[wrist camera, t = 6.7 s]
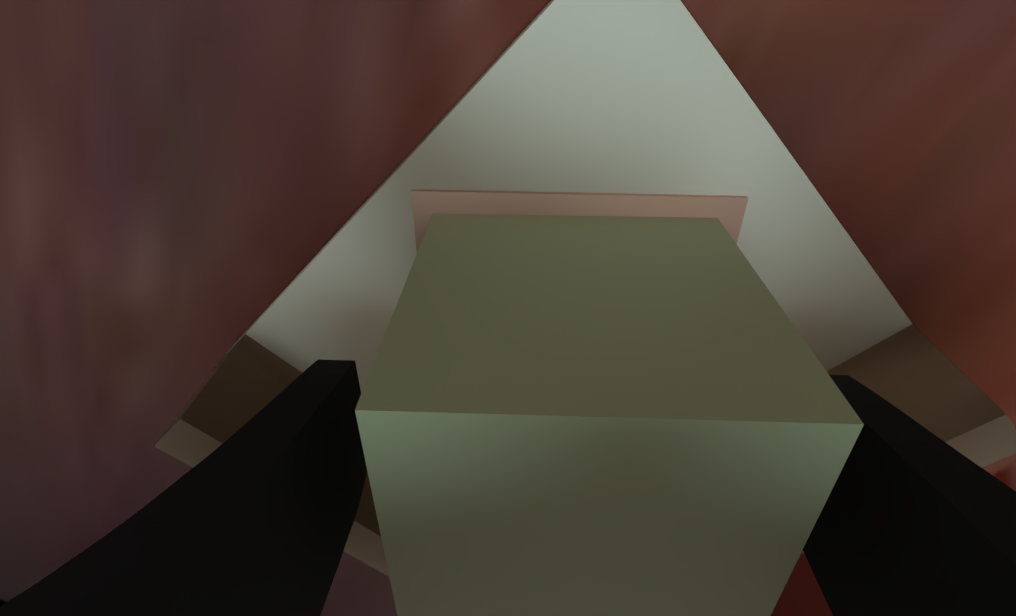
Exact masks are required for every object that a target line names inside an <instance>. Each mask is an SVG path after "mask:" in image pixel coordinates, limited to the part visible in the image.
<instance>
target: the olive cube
mask: <svg viewBox="0 0 1016 616" xmlns="http://www.w3.org/2000/svg"><path fill="white" fill-rule="evenodd" d="M355 414H356V418H357V423H358V428H359V433H360V438H361V443H362V447H363V452H364V457H365V462H366V467H367V471H368V476H369V481H370V486H371V491H372V496H373V500H374V505H375V510H376V515H377V520H378V524H379V529H380V534H381V539H382V544H383V549H384V553H385V558H386V563H387V568H388V573H389V577H390V582H391V587H392V592H393V597H394V602H395V606H396V611H397V616H770V615H771V613H772V611H773V609H774V607H775V605H776V603H777V601H778V599H779V597H780V595H781V593H782V591H783V589H784V587H785V585H786V583H787V580H788V578H789V576H790V574H791V572H792V570H793V568H794V566H795V564H796V562H797V560H798V558H799V556H800V554H801V552H802V550H803V548H804V546H805V544H806V542H807V540H808V538H809V536H810V534H811V532H812V530H813V527H814V525H815V523H816V521H817V519H818V517H819V515H820V513H821V511H822V509H823V507H824V505H825V503H826V501H827V499H828V497H829V495H830V493H831V491H832V489H833V487H834V485H835V483H836V481H837V479H838V477H839V475H840V472H841V470H842V468H843V466H844V464H845V462H846V460H847V458H848V456H849V454H850V452H851V450H852V448H853V446H854V444H855V442H856V440H857V438H858V436H859V434H860V432H861V430H862V428H863V426H864V424H863V422H862V421H861V419H860V418H859V417H858V415H857V414H856V412H855V411H854V410H853V408H852V407H851V405H850V404H849V403H848V401H847V400H846V398H845V397H844V395H843V394H842V393H841V391H840V390H839V388H838V387H837V386H836V384H835V383H834V381H833V380H832V379H831V377H830V376H829V374H828V373H827V371H826V370H825V369H824V367H823V366H822V364H821V363H820V362H819V360H818V359H817V357H816V356H815V355H814V353H813V352H812V350H811V349H810V348H809V346H808V345H807V343H806V342H805V340H804V339H803V338H802V336H801V335H800V333H799V332H798V331H797V329H796V328H795V326H794V325H793V324H792V322H791V321H790V319H789V318H788V317H787V315H786V314H785V312H784V311H783V309H782V308H781V307H780V305H779V304H778V302H777V301H776V300H775V298H774V297H773V295H772V294H771V293H770V291H769V290H768V288H767V287H766V286H765V284H764V283H763V281H762V280H761V278H760V277H759V276H758V274H757V273H756V271H755V270H754V269H753V267H752V266H751V264H750V263H749V262H748V260H747V259H746V257H745V256H744V255H743V253H742V252H741V250H740V249H739V247H738V246H737V245H736V243H735V242H734V240H733V239H732V238H731V236H730V235H729V233H728V232H727V231H726V229H725V228H724V226H723V225H722V224H721V222H720V221H719V219H718V218H692V217H628V216H564V215H500V214H436V213H433V214H432V217H431V219H430V222H429V224H428V227H427V229H426V232H425V234H424V237H423V239H422V242H421V244H420V247H419V250H418V252H417V255H416V257H415V260H414V262H413V265H412V267H411V270H410V272H409V275H408V277H407V280H406V282H405V285H404V287H403V290H402V292H401V295H400V297H399V300H398V302H397V305H396V308H395V310H394V313H393V315H392V318H391V320H390V323H389V325H388V328H387V330H386V333H385V335H384V338H383V340H382V343H381V345H380V348H379V350H378V353H377V355H376V358H375V360H374V363H373V365H372V368H371V371H370V373H369V376H368V378H367V381H366V383H365V386H364V388H363V391H362V393H361V396H360V398H359V401H358V403H357V406H356V408H355Z"/></svg>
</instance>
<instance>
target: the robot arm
mask: <svg viewBox="0 0 1016 616" xmlns="http://www.w3.org/2000/svg"><path fill="white" fill-rule="evenodd" d="M829 376H830V377H831V379H832V380H833V381H834V383H835V384H836V386H837V387H838V388H839V390H840V391H841V393H842V394H843V395H844V397H845V398H846V400H847V401H848V403H849V404H850V405H851V407H852V408H853V410H854V411H855V412H856V414H857V415H858V417H859V418H860V419H861V421H862V422H863V424H864V426H863V428H862V430H861V432H860V434H859V436H858V438H857V440H856V442H855V444H854V446H853V448H852V450H851V452H850V454H849V456H848V458H847V460H846V462H845V464H844V466H843V468H842V470H841V472H840V475H839V477H838V479H837V481H836V483H835V485H834V487H833V489H832V491H831V493H830V495H829V497H828V499H827V501H826V503H825V505H824V507H823V509H822V511H821V513H820V515H819V517H818V519H817V521H816V523H815V525H814V527H813V530H812V532H811V534H810V536H809V538H808V540H807V542H806V544H805V546H804V548H803V551H804V553H805V555H806V558H807V560H808V562H809V564H810V566H811V569H812V571H813V573H814V575H815V577H816V580H817V582H818V584H819V586H820V588H821V590H822V593H823V595H824V597H825V599H826V601H827V603H828V605H829V608H830V610H831V612H832V614H833V616H1016V491H1014V490H1013V489H1011V488H1010V487H1008V486H1007V485H1005V484H1004V483H1002V482H1001V481H1000V480H998V479H997V478H995V477H994V476H992V475H991V474H990V473H988V472H987V471H985V470H984V469H982V468H981V467H980V466H978V465H977V464H975V463H974V462H972V461H971V460H970V459H968V458H967V457H965V456H964V455H963V454H961V453H960V452H958V451H957V450H955V449H954V448H953V447H951V446H950V445H948V444H947V443H946V442H944V441H943V440H941V439H940V438H939V437H937V436H936V435H934V434H933V433H932V432H930V431H929V430H927V429H926V428H925V427H923V426H922V425H920V424H919V423H918V422H916V421H915V420H913V419H912V418H911V417H909V416H908V415H906V414H905V413H904V412H902V411H901V410H899V409H898V408H896V407H895V406H894V405H892V404H891V403H889V402H888V401H886V400H885V399H884V398H882V397H881V396H879V395H878V394H876V393H875V392H873V391H872V390H870V389H869V388H867V387H866V386H864V385H863V384H861V383H860V382H858V381H856V380H855V379H853V378H852V377H850V376H848V375H829ZM360 396H361V390H360V384H359V379H358V374H357V368H356V363H355V361H354V360H320V359H318V360H317V361H316V362H314V363H313V364H312V365H311V366H310V367H308V368H307V369H306V370H305V371H304V372H303V373H302V374H301V375H299V376H298V377H297V378H296V379H295V380H294V381H293V382H292V383H291V384H289V385H288V386H287V387H286V388H285V389H284V390H283V391H282V392H281V393H279V394H278V395H277V396H276V397H275V398H274V399H273V400H272V401H271V402H269V403H268V404H267V405H266V406H265V407H264V408H263V409H262V410H260V411H259V412H258V413H257V414H256V415H255V416H254V417H253V418H251V419H250V420H249V421H248V422H247V423H246V424H245V425H243V426H242V427H241V428H240V429H239V430H238V431H236V432H235V433H234V434H233V435H232V436H231V437H230V438H228V439H227V440H226V441H225V442H224V443H223V444H221V445H220V446H219V447H218V448H217V449H216V450H215V451H213V452H212V453H211V454H210V455H209V456H207V457H206V458H205V459H204V460H202V461H201V462H200V463H199V464H197V465H196V466H195V467H194V468H192V469H191V470H190V471H189V472H187V473H186V474H185V475H184V476H182V477H181V478H180V479H179V480H177V481H176V482H175V483H174V484H172V485H171V486H170V487H169V488H167V489H166V490H165V491H164V492H162V493H161V494H160V495H159V496H157V497H156V498H155V499H154V500H152V501H151V502H150V503H149V504H147V505H146V506H145V507H144V508H142V509H141V510H140V511H138V512H137V513H136V514H134V515H133V516H132V517H130V518H129V519H128V520H126V521H125V522H124V523H122V524H121V525H119V526H118V527H117V528H115V529H114V530H113V531H111V532H110V533H109V534H107V535H106V536H104V537H103V538H102V539H100V540H99V541H97V542H96V543H94V544H93V545H92V546H90V547H89V548H87V549H86V550H84V551H83V552H82V553H80V554H79V555H77V556H76V557H74V558H73V559H72V560H70V561H69V562H67V563H66V564H64V565H63V566H62V567H60V568H59V569H57V570H56V571H54V572H53V573H51V574H50V575H48V576H47V577H45V578H44V579H42V580H41V581H39V582H38V583H36V584H35V585H33V586H32V587H30V588H29V589H27V590H26V591H24V592H22V593H21V594H19V595H18V596H16V597H15V598H13V599H11V600H10V601H8V602H7V603H5V604H3V605H2V606H0V616H320V614H321V612H322V609H323V606H324V603H325V600H326V598H327V595H328V592H329V589H330V587H331V584H332V581H333V578H334V576H335V573H336V570H337V567H338V564H339V562H340V559H341V556H342V553H343V550H344V548H345V545H346V542H347V539H348V536H349V534H350V531H351V528H352V525H353V522H354V519H355V516H356V513H357V511H358V508H359V503H360V499H361V495H362V491H363V487H364V483H365V478H366V473H367V467H366V462H365V457H364V452H363V447H362V443H361V438H360V433H359V428H358V423H357V418H356V414H355V408H356V406H357V403H358V401H359V398H360Z"/></svg>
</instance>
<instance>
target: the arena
mask: <svg viewBox="0 0 1016 616" xmlns="http://www.w3.org/2000/svg"><path fill="white" fill-rule="evenodd" d="M433 213H436V214H500V215H564V216H628V217H692V218H718V219H719V221H720V222H721V224H722V225H723V226H724V228H725V229H726V231H727V232H728V233H729V235H730V236H731V238H732V239H733V240H734V242H735V243H736V245H737V246H738V247H739V249H740V250H741V252H742V253H743V255H744V256H745V257H746V259H747V260H748V262H749V263H750V264H751V266H752V267H753V269H754V270H755V271H756V273H757V274H758V276H759V277H760V278H761V280H762V281H763V283H764V284H765V286H766V287H767V288H768V290H769V291H770V293H771V294H772V295H773V297H774V298H775V300H776V301H777V302H778V304H779V305H780V307H781V308H782V309H783V311H784V312H785V314H786V315H787V317H788V318H789V319H790V321H791V322H792V324H793V325H794V326H795V328H796V329H797V331H798V332H799V333H800V335H801V336H802V338H803V339H804V340H805V342H806V343H807V345H808V346H809V348H810V349H811V350H812V352H813V353H814V355H815V356H816V357H817V359H818V360H819V362H820V363H821V364H822V366H823V367H824V369H825V370H826V371H827V373H828V374H829V375H848V376H850V377H852V378H853V379H855V380H856V381H858V382H860V383H861V384H863V385H864V386H866V387H867V388H869V389H870V390H872V391H873V392H875V393H876V394H878V395H879V396H881V397H882V398H884V399H885V400H886V401H888V402H889V403H891V404H892V405H894V406H895V407H896V408H898V409H899V410H901V411H902V412H904V413H905V414H906V415H908V416H909V417H911V418H912V419H913V420H915V421H916V422H918V423H919V424H920V425H922V426H923V427H925V428H926V429H927V430H929V431H930V432H932V433H933V434H934V435H936V436H937V437H939V438H940V439H941V440H943V441H944V442H946V443H947V444H948V445H950V446H951V447H953V448H954V449H955V450H957V451H958V452H960V453H961V454H963V455H964V456H965V457H967V458H968V459H970V460H971V461H972V462H974V463H975V464H977V465H978V466H980V467H981V468H982V467H984V466H986V465H989V464H991V463H993V462H996V461H998V460H1000V459H1003V458H1005V457H1007V456H1010V455H1012V454H1014V453H1016V428H1015V427H1014V425H1013V424H1012V422H1011V421H1010V419H1009V418H1008V416H1007V415H1006V414H1005V413H1004V412H1003V411H1002V410H1001V409H1000V408H999V407H998V406H997V405H996V404H995V403H994V402H993V401H992V400H991V399H990V398H989V397H988V396H987V395H986V394H985V393H984V392H983V391H981V390H980V389H979V388H978V387H977V386H976V385H975V384H974V383H973V382H972V381H971V380H970V379H969V378H968V377H967V376H966V375H965V374H964V373H963V372H962V371H961V370H960V369H959V368H958V367H957V366H956V365H955V364H953V363H952V362H951V361H950V360H949V359H948V358H947V357H946V356H945V355H944V354H943V353H942V352H941V351H940V350H939V349H938V348H937V347H936V346H935V345H934V344H933V343H932V342H931V341H930V340H929V339H928V338H926V337H925V336H924V335H923V334H922V333H921V332H920V331H919V330H918V329H917V328H916V327H915V326H914V325H913V324H912V323H911V321H910V320H909V318H908V317H907V316H906V314H905V313H904V311H903V310H902V309H901V307H900V306H899V305H898V303H897V302H896V300H895V299H894V298H893V296H892V295H891V293H890V292H889V291H888V289H887V288H886V286H885V285H884V284H883V282H882V281H881V279H880V278H879V277H878V275H877V274H876V272H875V271H874V270H873V268H872V267H871V265H870V264H869V263H868V261H867V260H866V258H865V257H864V256H863V254H862V253H861V252H860V250H859V249H858V247H857V246H856V245H855V243H854V242H853V240H852V239H851V238H850V236H849V235H848V233H847V232H846V231H845V229H844V228H843V226H842V225H841V224H840V222H839V221H838V219H837V218H836V217H835V215H834V214H833V212H832V211H831V210H830V208H829V207H828V206H827V204H826V203H825V201H824V200H823V199H822V197H821V196H820V194H819V193H818V192H817V190H816V189H815V187H814V186H813V185H812V183H811V182H810V180H809V179H808V178H807V176H806V175H805V173H804V172H803V171H802V169H801V168H800V166H799V165H798V164H797V162H796V161H795V160H794V158H793V157H792V155H791V154H790V153H789V151H788V150H787V148H786V147H785V146H784V144H783V143H782V141H781V140H780V139H779V137H778V136H777V134H776V133H775V132H774V130H773V129H772V127H771V126H770V125H769V123H768V122H767V120H766V119H765V118H764V116H763V115H762V114H761V112H760V111H759V109H758V108H757V107H756V105H755V104H754V102H753V101H752V100H751V98H750V97H749V95H748V94H747V93H746V91H745V90H744V88H743V87H742V86H741V84H740V83H739V81H738V80H737V79H736V77H735V76H734V74H733V73H732V72H731V70H730V69H729V67H728V66H727V65H726V63H725V62H724V61H723V59H722V58H721V56H720V55H719V54H718V52H717V51H716V49H715V48H714V47H713V45H712V44H711V42H710V41H709V40H708V38H707V37H706V35H705V34H704V33H703V31H702V30H701V28H700V27H699V26H698V24H697V23H696V21H695V20H694V19H693V17H692V16H691V15H690V13H689V12H688V10H687V9H686V8H685V6H684V5H683V3H682V2H681V1H680V0H551V1H550V2H549V3H548V5H547V6H546V7H545V8H544V9H543V10H542V11H541V12H540V13H539V14H538V15H537V16H536V18H535V19H534V20H533V21H532V22H531V23H530V24H529V25H528V26H527V27H526V28H525V29H524V30H523V32H522V33H521V34H520V35H519V36H518V37H517V38H516V39H515V40H514V41H513V42H512V43H511V45H510V46H509V47H508V48H507V49H506V50H505V51H504V52H503V53H502V54H501V55H500V56H499V58H498V59H497V60H496V61H495V62H494V63H493V64H492V65H491V66H490V67H489V68H488V69H487V71H486V72H485V73H484V74H483V75H482V76H481V77H480V78H479V79H478V80H477V81H476V82H475V84H474V85H473V86H472V87H471V88H470V89H469V90H468V91H467V92H466V93H465V94H464V95H463V97H462V98H461V99H460V100H459V101H458V102H457V103H456V104H455V105H454V106H453V107H452V108H451V110H450V111H449V112H448V113H447V114H446V115H445V116H444V117H443V118H442V119H441V120H440V121H439V123H438V124H437V125H436V126H435V127H434V128H433V129H432V130H431V131H430V132H429V133H428V134H427V136H426V137H425V138H424V139H423V140H422V141H421V142H420V143H419V144H418V145H417V146H416V147H415V149H414V150H413V151H412V152H411V153H410V154H409V155H408V156H407V157H406V158H405V159H404V160H403V162H402V163H401V164H400V165H399V166H398V167H397V168H396V169H395V170H394V171H393V172H392V173H391V175H390V176H389V177H388V178H387V179H386V180H385V181H384V182H383V183H382V184H381V185H380V186H379V188H378V189H377V190H376V191H375V192H374V193H373V194H372V195H371V196H370V197H369V198H368V199H367V201H366V202H365V203H364V204H363V205H362V206H361V207H360V208H359V209H358V210H357V211H356V212H355V214H354V215H353V216H352V217H351V218H350V219H349V220H348V221H347V222H346V223H345V224H344V225H343V227H342V228H341V229H340V230H339V231H338V232H337V233H336V234H335V235H334V236H333V237H332V238H331V240H330V241H329V242H328V243H327V244H326V245H325V246H324V247H323V248H322V249H321V250H320V251H319V253H318V254H317V255H316V256H315V257H314V258H313V259H312V260H311V261H310V262H309V263H308V264H307V266H306V267H305V268H304V269H303V270H302V271H301V272H300V273H299V274H298V275H297V276H296V277H295V279H294V280H293V281H292V282H291V283H290V284H289V285H288V286H287V287H286V288H285V289H284V290H283V292H282V293H281V294H280V295H279V296H278V297H277V298H276V299H275V300H274V301H273V302H272V303H271V305H270V306H269V307H268V308H267V309H266V310H265V311H264V312H263V313H262V314H261V315H260V316H259V318H258V319H257V320H256V321H255V322H254V323H253V324H252V325H251V326H250V327H249V328H248V329H247V331H246V332H245V333H244V334H243V335H242V336H241V337H240V338H239V339H238V340H237V341H236V342H235V344H234V345H233V346H232V347H231V348H230V350H229V351H228V352H227V353H226V355H225V356H224V357H223V359H222V360H221V361H220V362H219V364H218V365H217V366H216V367H215V369H214V370H213V371H212V373H211V374H210V375H209V376H208V378H207V379H206V380H205V382H204V383H203V384H202V385H201V387H200V388H199V389H198V391H197V392H196V393H195V394H194V396H193V397H192V398H191V400H190V401H189V402H188V403H187V405H186V406H185V407H184V409H183V410H182V411H181V412H180V414H179V415H178V416H177V418H176V419H175V420H174V421H173V423H172V424H171V425H170V427H169V428H168V429H167V430H166V432H165V433H164V434H163V436H162V437H161V438H160V439H159V441H158V442H157V443H156V445H155V446H154V447H156V448H158V449H160V450H161V451H163V452H165V453H167V454H169V455H170V456H172V457H174V458H176V459H178V460H179V461H181V462H183V463H185V464H187V465H188V466H190V467H192V468H194V467H195V466H196V465H197V464H199V463H200V462H201V461H202V460H204V459H205V458H206V457H207V456H209V455H210V454H211V453H212V452H213V451H215V450H216V449H217V448H218V447H219V446H220V445H221V444H223V443H224V442H225V441H226V440H227V439H228V438H230V437H231V436H232V435H233V434H234V433H235V432H236V431H238V430H239V429H240V428H241V427H242V426H243V425H245V424H246V423H247V422H248V421H249V420H250V419H251V418H253V417H254V416H255V415H256V414H257V413H258V412H259V411H260V410H262V409H263V408H264V407H265V406H266V405H267V404H268V403H269V402H271V401H272V400H273V399H274V398H275V397H276V396H277V395H278V394H279V393H281V392H282V391H283V390H284V389H285V388H286V387H287V386H288V385H289V384H291V383H292V382H293V381H294V380H295V379H296V378H297V377H298V376H299V375H301V374H302V373H303V372H304V371H305V370H306V369H307V368H308V367H310V366H311V365H312V364H313V363H314V362H316V361H317V360H318V359H320V360H354V361H355V363H356V368H357V374H358V379H359V384H360V390H361V393H362V391H363V388H364V386H365V383H366V381H367V378H368V376H369V373H370V371H371V368H372V365H373V363H374V360H375V358H376V355H377V353H378V350H379V348H380V345H381V343H382V340H383V338H384V335H385V333H386V330H387V328H388V325H389V323H390V320H391V318H392V315H393V313H394V310H395V308H396V305H397V302H398V300H399V297H400V295H401V292H402V290H403V287H404V285H405V282H406V280H407V277H408V275H409V272H410V270H411V267H412V265H413V262H414V260H415V257H416V255H417V252H418V250H419V247H420V244H421V242H422V239H423V237H424V234H425V232H426V229H427V227H428V224H429V222H430V219H431V217H432V214H433ZM343 552H345V553H347V554H349V555H351V556H352V557H354V558H356V559H358V560H360V561H361V562H363V563H365V564H367V565H369V566H370V567H372V568H374V569H376V570H378V571H379V572H381V573H383V574H385V575H387V576H388V577H389V573H388V568H387V563H386V558H385V553H384V549H383V544H382V539H381V534H380V529H379V524H378V520H377V515H376V510H375V505H374V500H373V496H372V491H371V486H370V481H369V476H368V471H367V473H366V478H365V483H364V487H363V491H362V495H361V499H360V503H359V508H358V511H357V513H356V516H355V519H354V522H353V525H352V528H351V531H350V534H349V536H348V539H347V542H346V545H345V548H344V550H343Z"/></svg>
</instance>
